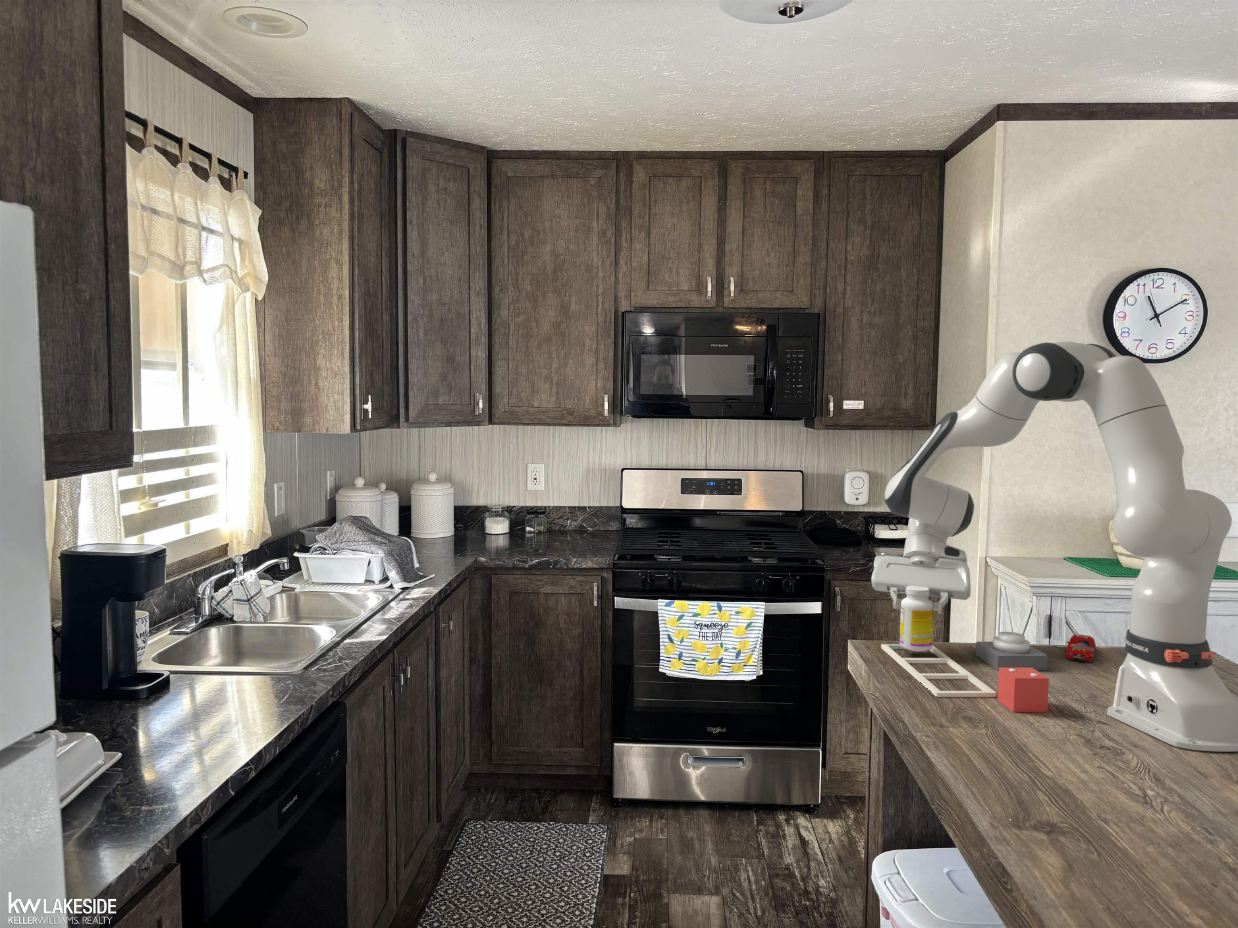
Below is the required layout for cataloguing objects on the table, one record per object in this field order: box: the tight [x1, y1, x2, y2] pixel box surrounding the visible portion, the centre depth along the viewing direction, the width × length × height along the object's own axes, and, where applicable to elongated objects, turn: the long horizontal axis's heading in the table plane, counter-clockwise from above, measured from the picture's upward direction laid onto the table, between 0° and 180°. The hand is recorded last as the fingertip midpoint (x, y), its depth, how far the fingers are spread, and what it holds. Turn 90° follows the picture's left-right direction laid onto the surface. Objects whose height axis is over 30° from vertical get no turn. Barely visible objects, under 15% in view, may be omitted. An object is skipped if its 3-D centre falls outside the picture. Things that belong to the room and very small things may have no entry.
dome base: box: [975, 641, 1048, 671], centre depth 179 cm, size 10×10×3 cm
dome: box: [992, 631, 1031, 653], centre depth 178 cm, size 7×7×3 cm
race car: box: [1065, 633, 1097, 663], centre depth 185 cm, size 13×5×4 cm, turn 147°
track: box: [880, 643, 998, 698], centre depth 173 cm, size 31×11×1 cm, turn 1°
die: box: [997, 668, 1050, 713], centre depth 153 cm, size 6×6×6 cm
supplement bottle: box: [899, 586, 935, 652], centre depth 183 cm, size 7×7×13 cm
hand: (916, 609), depth 182 cm, fingers closed on supplement bottle, 7 cm apart
